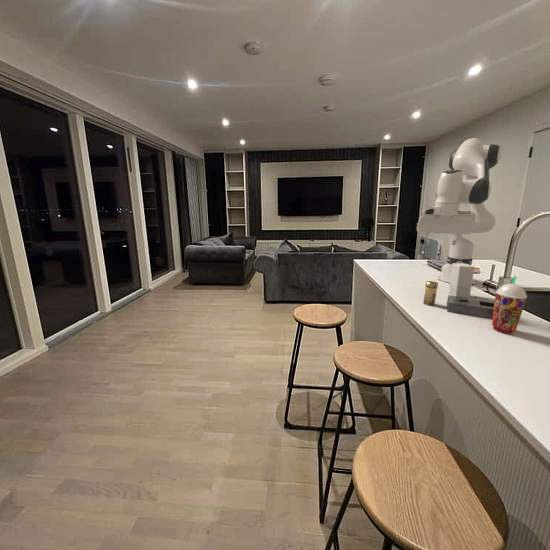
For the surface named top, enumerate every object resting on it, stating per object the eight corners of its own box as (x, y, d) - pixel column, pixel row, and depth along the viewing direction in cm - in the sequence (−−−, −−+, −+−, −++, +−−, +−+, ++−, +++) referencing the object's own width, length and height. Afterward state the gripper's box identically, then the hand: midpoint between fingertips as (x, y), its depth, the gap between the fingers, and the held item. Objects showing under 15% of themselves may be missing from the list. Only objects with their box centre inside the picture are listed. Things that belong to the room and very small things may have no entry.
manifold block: (446, 303, 126) (448, 295, 125) (502, 312, 117) (504, 302, 116) (447, 311, 117) (448, 302, 116) (507, 321, 107) (510, 311, 106)
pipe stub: (423, 301, 129) (426, 280, 126) (434, 303, 127) (438, 282, 124) (422, 304, 125) (425, 283, 123) (434, 306, 123) (437, 284, 120)
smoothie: (510, 337, 95) (524, 280, 90) (483, 328, 102) (494, 274, 97) (523, 332, 98) (536, 277, 93) (496, 323, 106) (507, 272, 100)
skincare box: (469, 299, 132) (475, 266, 128) (454, 298, 134) (459, 266, 130) (462, 293, 140) (467, 263, 136) (447, 292, 142) (452, 262, 138)
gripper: (475, 211, 114) (469, 245, 117) (419, 210, 124) (415, 241, 127) (477, 211, 109) (471, 246, 112) (418, 210, 119) (414, 243, 122)
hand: (441, 244), depth 120 cm, fingers open, 8 cm apart
